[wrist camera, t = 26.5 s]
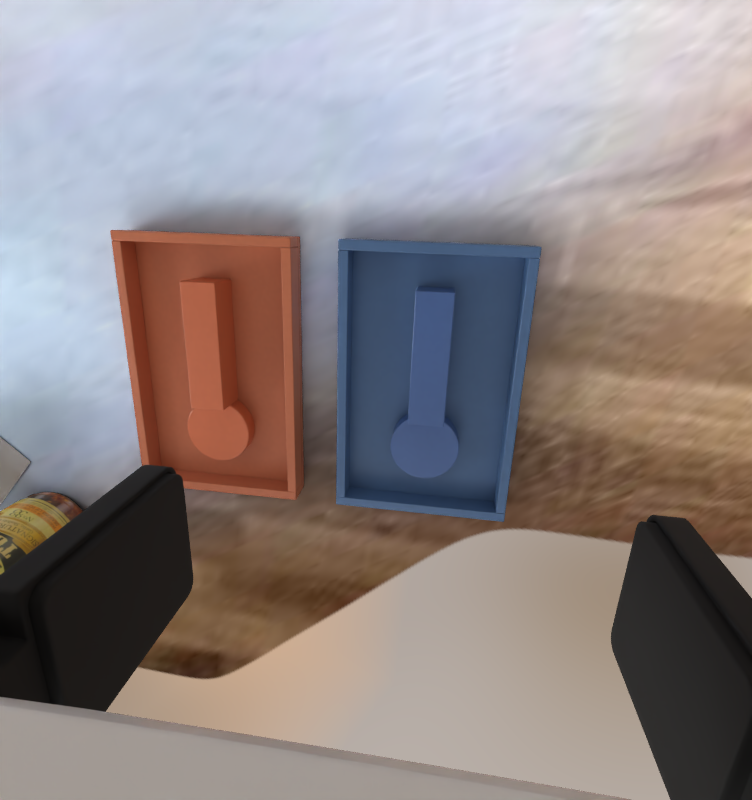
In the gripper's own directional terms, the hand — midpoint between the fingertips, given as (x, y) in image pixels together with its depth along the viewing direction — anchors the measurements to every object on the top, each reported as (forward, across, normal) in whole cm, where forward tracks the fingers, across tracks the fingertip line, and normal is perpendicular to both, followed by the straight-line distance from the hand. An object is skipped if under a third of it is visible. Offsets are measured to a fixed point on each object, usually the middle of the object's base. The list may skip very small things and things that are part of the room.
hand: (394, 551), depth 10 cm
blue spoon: (+22, 0, +3) cm, 22 cm away
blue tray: (+22, 0, +3) cm, 23 cm away
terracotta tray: (+22, +14, +3) cm, 27 cm away
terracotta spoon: (+22, +14, +3) cm, 26 cm away
